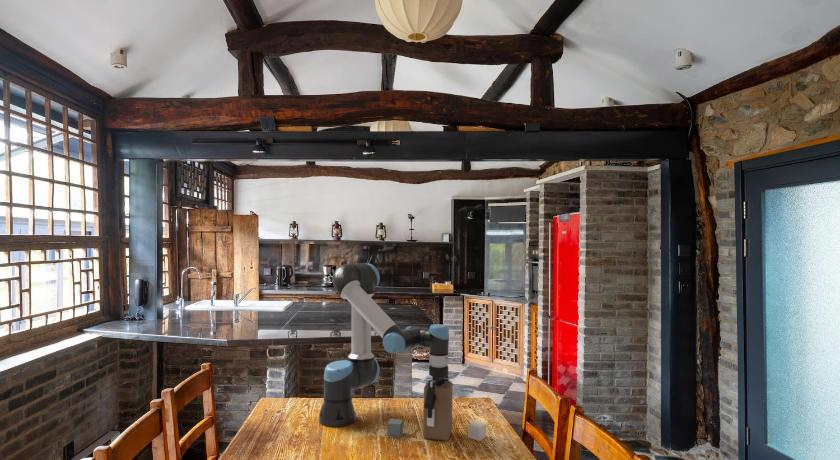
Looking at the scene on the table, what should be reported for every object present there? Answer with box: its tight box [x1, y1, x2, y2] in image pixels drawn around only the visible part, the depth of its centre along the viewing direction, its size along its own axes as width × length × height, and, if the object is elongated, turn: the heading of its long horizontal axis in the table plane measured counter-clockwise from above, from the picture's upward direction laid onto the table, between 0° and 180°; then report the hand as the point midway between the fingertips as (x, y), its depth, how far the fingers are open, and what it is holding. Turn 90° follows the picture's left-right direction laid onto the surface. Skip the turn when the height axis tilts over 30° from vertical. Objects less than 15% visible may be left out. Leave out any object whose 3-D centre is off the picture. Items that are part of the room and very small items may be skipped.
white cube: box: [467, 420, 487, 442], centre depth 187 cm, size 5×5×5 cm
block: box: [422, 379, 454, 441], centre depth 188 cm, size 10×10×20 cm
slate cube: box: [386, 418, 404, 438], centre depth 188 cm, size 5×5×5 cm
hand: (437, 420), depth 188 cm, fingers open, 13 cm apart
